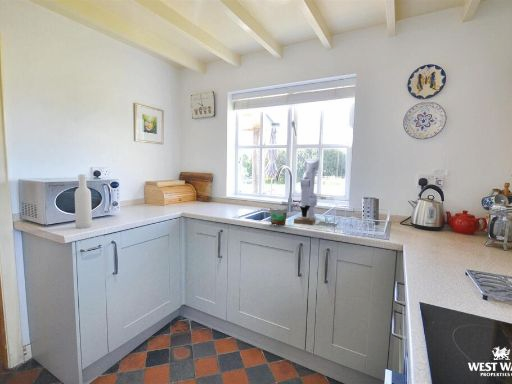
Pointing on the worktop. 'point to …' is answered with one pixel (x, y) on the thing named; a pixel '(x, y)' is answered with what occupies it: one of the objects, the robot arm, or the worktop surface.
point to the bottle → (83, 204)
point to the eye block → (304, 220)
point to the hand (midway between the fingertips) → (304, 216)
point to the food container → (278, 216)
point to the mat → (326, 223)
